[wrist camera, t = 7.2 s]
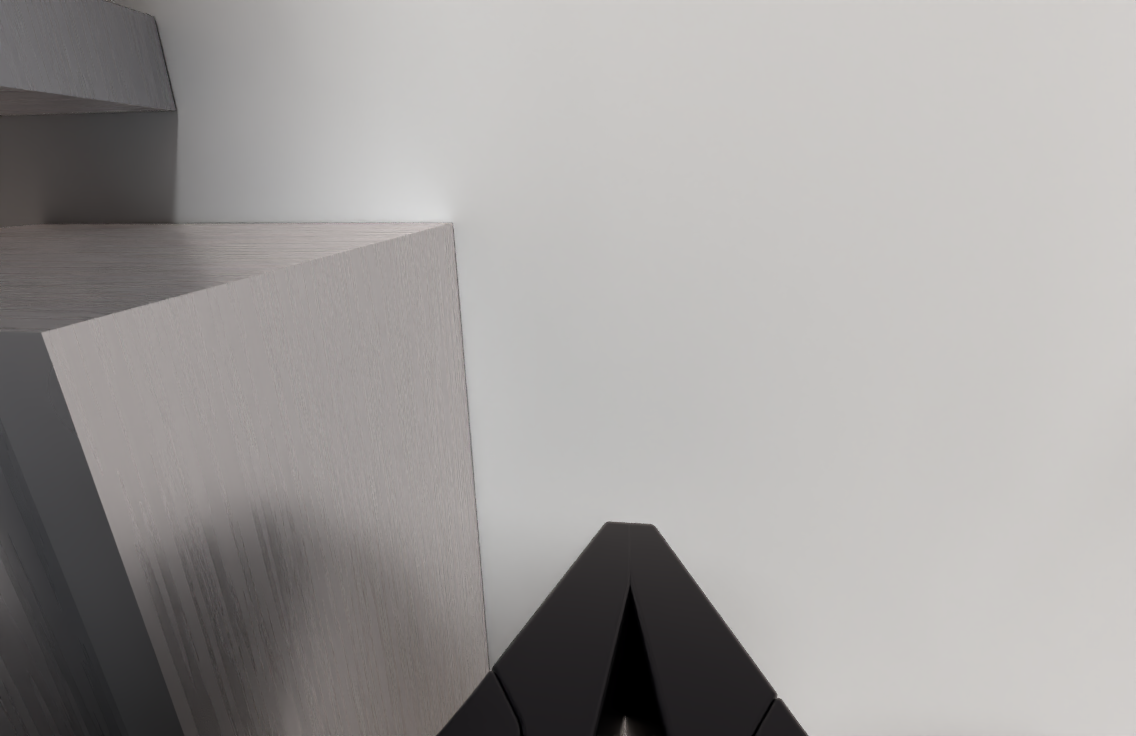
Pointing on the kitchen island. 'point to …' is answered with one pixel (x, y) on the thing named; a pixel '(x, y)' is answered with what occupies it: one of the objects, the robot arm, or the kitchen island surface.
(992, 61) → the kitchen island surface
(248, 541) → the block
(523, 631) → the robot arm
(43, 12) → the dock
